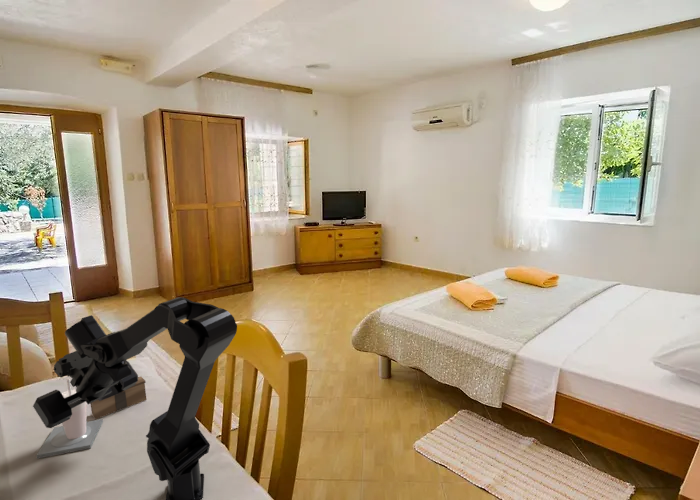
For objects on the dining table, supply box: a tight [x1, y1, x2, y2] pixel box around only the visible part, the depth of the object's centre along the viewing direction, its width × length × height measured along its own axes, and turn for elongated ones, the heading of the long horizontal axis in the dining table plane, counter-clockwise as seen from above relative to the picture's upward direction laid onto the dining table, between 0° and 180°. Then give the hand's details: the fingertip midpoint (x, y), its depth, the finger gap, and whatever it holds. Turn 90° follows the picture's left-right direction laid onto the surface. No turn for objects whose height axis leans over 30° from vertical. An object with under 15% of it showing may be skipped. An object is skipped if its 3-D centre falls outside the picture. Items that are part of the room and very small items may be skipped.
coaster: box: [36, 418, 104, 459], centre depth 91 cm, size 10×10×1 cm
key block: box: [89, 375, 147, 420], centre depth 103 cm, size 3×12×6 cm, turn 135°
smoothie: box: [61, 377, 88, 439], centre depth 90 cm, size 6×6×14 cm
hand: (78, 409), depth 88 cm, fingers open, 9 cm apart
